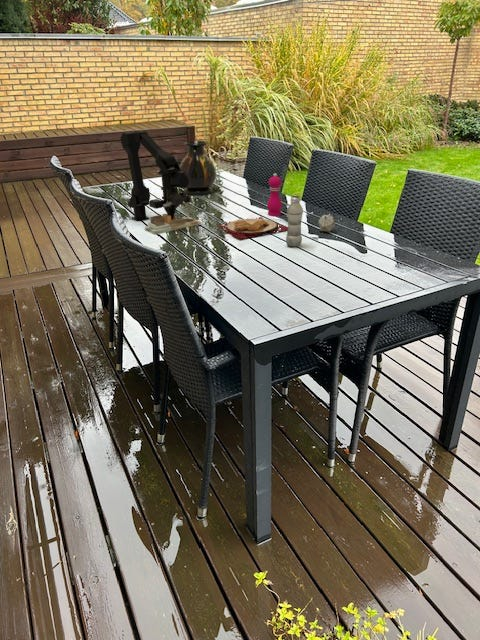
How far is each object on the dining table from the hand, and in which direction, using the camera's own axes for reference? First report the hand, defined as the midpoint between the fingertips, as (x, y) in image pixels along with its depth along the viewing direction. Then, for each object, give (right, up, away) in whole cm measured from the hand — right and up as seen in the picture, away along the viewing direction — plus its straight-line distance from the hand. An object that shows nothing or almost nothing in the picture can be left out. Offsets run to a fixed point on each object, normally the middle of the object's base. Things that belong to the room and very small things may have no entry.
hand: (171, 219), depth 223 cm
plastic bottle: (+53, -16, -24) cm, 61 cm away
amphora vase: (+7, +29, +63) cm, 70 cm away
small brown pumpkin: (+70, -7, -8) cm, 70 cm away
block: (-6, -3, -4) cm, 7 cm away
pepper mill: (+49, +6, +18) cm, 52 cm away
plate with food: (+36, -5, -1) cm, 37 cm away
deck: (0, -3, +2) cm, 4 cm away
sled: (-5, -3, -3) cm, 6 cm away
